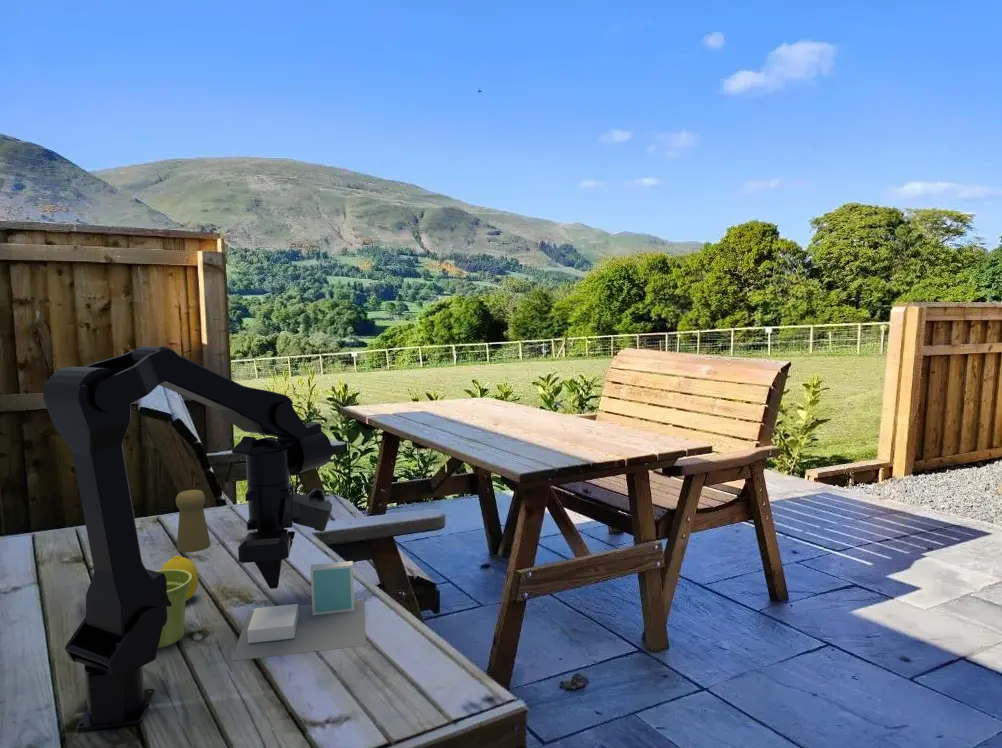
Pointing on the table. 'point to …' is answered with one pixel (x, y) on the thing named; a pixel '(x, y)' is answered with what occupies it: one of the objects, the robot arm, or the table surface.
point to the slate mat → (309, 634)
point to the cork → (192, 522)
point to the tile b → (332, 587)
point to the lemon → (188, 566)
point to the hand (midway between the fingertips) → (274, 587)
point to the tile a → (273, 623)
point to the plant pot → (175, 605)
